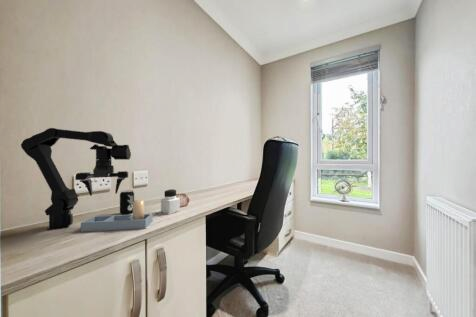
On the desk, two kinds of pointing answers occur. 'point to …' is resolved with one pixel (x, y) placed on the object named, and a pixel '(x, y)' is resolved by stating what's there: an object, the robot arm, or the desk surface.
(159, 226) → the desk surface
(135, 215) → the pin
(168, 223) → the desk surface
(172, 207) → the medicine bottle
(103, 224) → the blue-grey compartment tray
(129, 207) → the beverage can
